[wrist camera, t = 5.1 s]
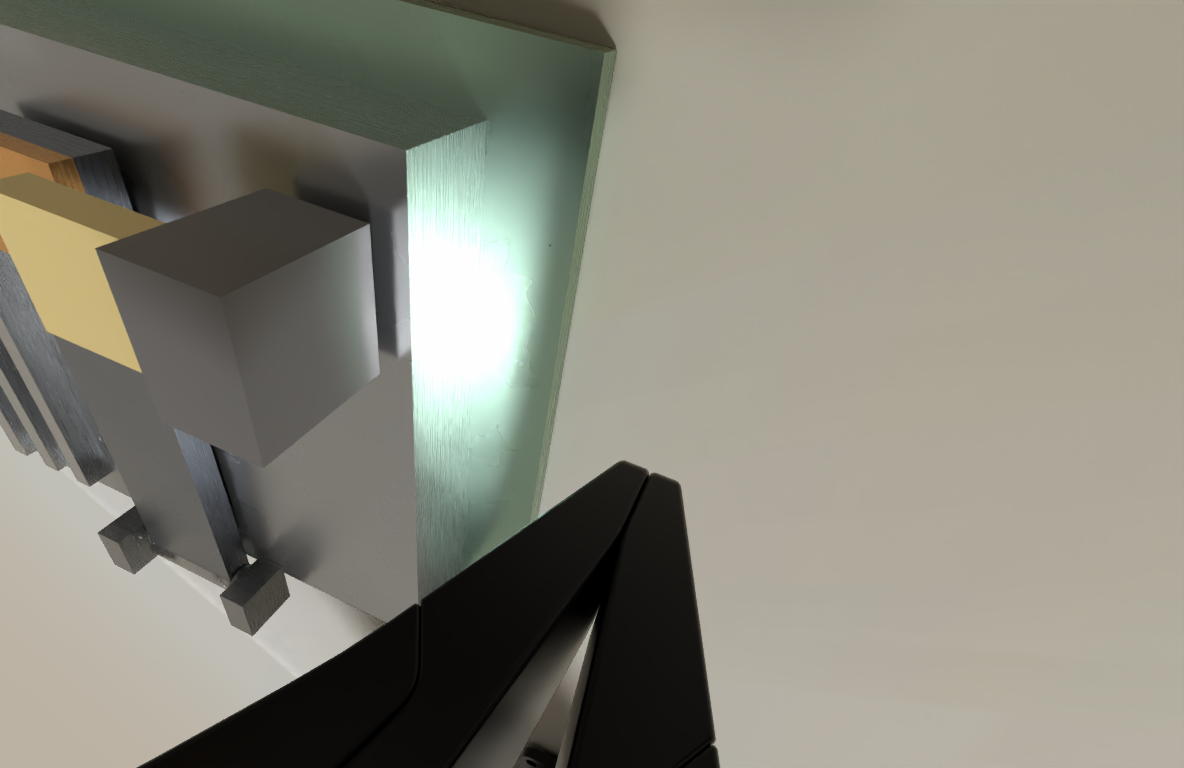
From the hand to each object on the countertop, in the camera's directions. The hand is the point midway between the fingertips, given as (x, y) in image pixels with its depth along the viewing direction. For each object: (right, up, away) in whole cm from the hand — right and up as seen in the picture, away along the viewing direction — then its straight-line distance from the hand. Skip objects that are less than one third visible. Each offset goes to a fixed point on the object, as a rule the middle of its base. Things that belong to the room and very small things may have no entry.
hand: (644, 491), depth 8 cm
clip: (-7, +4, +3) cm, 8 cm away
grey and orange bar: (-12, +1, +7) cm, 14 cm away
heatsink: (-11, +3, +9) cm, 14 cm away
